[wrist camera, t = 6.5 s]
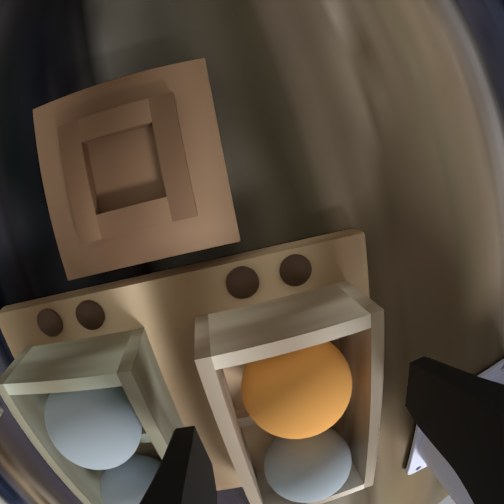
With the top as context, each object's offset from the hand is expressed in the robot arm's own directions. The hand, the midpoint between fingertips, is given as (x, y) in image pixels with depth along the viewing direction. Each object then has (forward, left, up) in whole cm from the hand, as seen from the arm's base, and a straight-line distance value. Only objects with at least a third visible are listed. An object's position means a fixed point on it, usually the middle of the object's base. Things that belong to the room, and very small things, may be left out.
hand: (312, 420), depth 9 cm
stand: (+4, -8, -5) cm, 11 cm away
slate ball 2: (+8, +5, -2) cm, 10 cm away
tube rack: (+4, +2, -5) cm, 7 cm away
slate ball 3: (0, +5, -2) cm, 5 cm away
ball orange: (0, 0, -2) cm, 2 cm away
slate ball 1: (+8, 0, -2) cm, 8 cm away
